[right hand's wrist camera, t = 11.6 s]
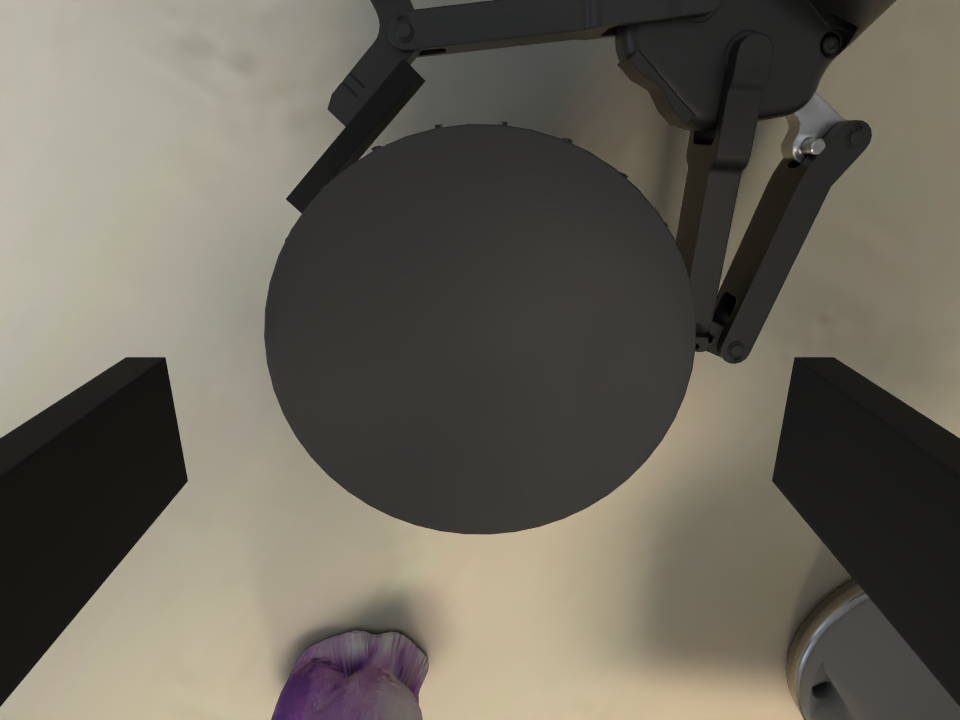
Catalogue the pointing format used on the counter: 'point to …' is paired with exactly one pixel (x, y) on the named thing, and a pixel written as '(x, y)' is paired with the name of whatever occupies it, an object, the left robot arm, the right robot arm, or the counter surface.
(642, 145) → the counter surface
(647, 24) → the left robot arm
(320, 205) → the lid
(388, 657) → the figurine
